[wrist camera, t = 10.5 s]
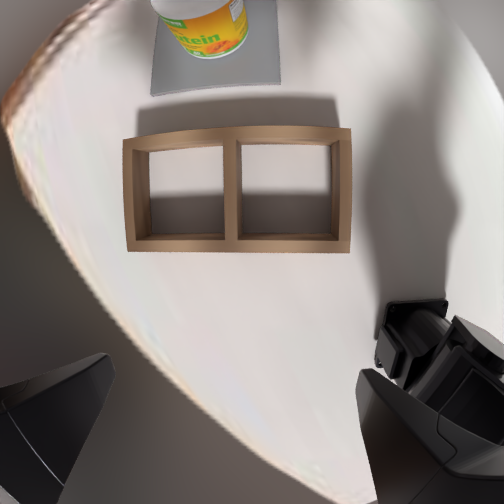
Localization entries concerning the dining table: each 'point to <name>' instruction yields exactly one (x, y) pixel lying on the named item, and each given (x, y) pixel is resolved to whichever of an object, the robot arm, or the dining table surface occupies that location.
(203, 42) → the supplement bottle
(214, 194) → the dining table surface
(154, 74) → the coaster
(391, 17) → the dining table surface
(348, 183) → the brown two-compartment frame
